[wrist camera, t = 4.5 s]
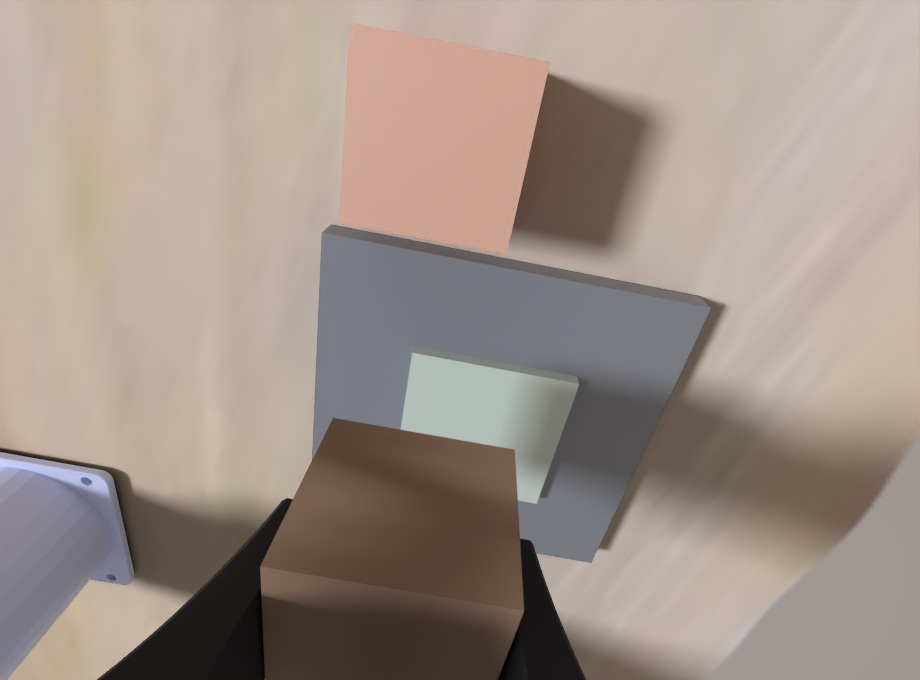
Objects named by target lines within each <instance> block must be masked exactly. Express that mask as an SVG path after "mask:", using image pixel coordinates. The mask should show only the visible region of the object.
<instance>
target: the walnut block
mask: <svg viewBox="0 0 920 680" xmlns="http://www.w3.org/2000/svg"><path fill="white" fill-rule="evenodd" d="M260 574H261V597H262V621H263V644H264V667H265V680H498V678H499V675H500V673H501V670H502V667H503V665H504V662H505V660H506V657H507V654H508V652H509V649H510V646H511V644H512V641H513V639H514V636H515V633H516V631H517V628H518V626H519V623H520V620H521V618H522V615H523V613H524V600H523V582H522V565H521V548H520V530H519V513H518V495H517V478H516V461H515V450H514V449H508V448H502V447H497V446H491V445H485V444H480V443H474V442H468V441H462V440H457V439H451V438H445V437H440V436H434V435H428V434H423V433H417V432H411V431H406V430H400V429H394V428H389V427H383V426H377V425H372V424H366V423H360V422H355V421H349V420H343V419H337V418H333V419H332V421H331V423H330V425H329V427H328V429H327V431H326V433H325V435H324V437H323V439H322V441H321V443H320V446H319V448H318V450H317V452H316V454H315V456H314V458H313V460H312V462H311V464H310V466H309V468H308V470H307V472H306V474H305V476H304V478H303V480H302V482H301V484H300V486H299V488H298V490H297V492H296V494H295V496H294V499H293V501H292V503H291V505H290V507H289V509H288V511H287V513H286V515H285V517H284V519H283V521H282V523H281V525H280V527H279V529H278V531H277V533H276V535H275V537H274V539H273V541H272V543H271V545H270V547H269V550H268V552H267V554H266V556H265V558H264V560H263V562H262V564H261V566H260Z"/></svg>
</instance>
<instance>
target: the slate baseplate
mask: <svg viewBox="0 0 920 680" xmlns="http://www.w3.org/2000/svg"><path fill="white" fill-rule="evenodd" d="M710 310H711V307H710V306H709V305H708V304H707V303H706V302H705V301H704V300H703V299H702V298H701V297H700V296H695V295H690V294H685V293H680V292H675V291H670V290H664V289H659V288H654V287H649V286H644V285H639V284H634V283H628V282H623V281H618V280H613V279H608V278H603V277H597V276H592V275H587V274H582V273H577V272H572V271H567V270H561V269H556V268H551V267H546V266H541V265H536V264H531V263H525V262H520V261H515V260H510V259H505V258H500V257H495V256H489V255H484V254H479V253H474V252H469V251H464V250H458V249H453V248H448V247H443V246H438V245H433V244H428V243H422V242H417V241H412V240H407V239H402V238H397V237H392V236H386V235H381V234H376V233H371V232H366V231H361V230H356V229H350V228H345V227H340V226H335V225H330V226H329V227H328V228H327V229H325V230H324V231H323V232H322V240H321V264H320V287H319V310H318V334H317V357H316V380H315V404H314V427H313V450H312V460H313V458H314V456H315V454H316V452H317V450H318V448H319V446H320V443H321V441H322V439H323V437H324V435H325V433H326V431H327V429H328V427H329V425H330V423H331V421H332V419H333V418H337V419H343V420H349V421H355V422H360V423H366V424H372V425H377V426H383V427H389V428H394V429H400V430H406V431H411V432H417V433H423V434H428V435H434V436H440V437H445V438H451V439H457V440H462V441H468V442H474V443H480V444H485V445H491V446H497V447H502V448H508V449H514V450H515V461H516V478H517V495H518V513H519V530H520V538H521V539H526V540H530V541H531V542H532V543H533V545H534V548H535V552H536V553H538V554H544V555H549V556H555V557H561V558H566V559H572V560H578V561H583V562H589V563H591V562H592V560H593V558H594V556H595V554H596V552H597V550H598V548H599V545H600V543H601V541H602V539H603V537H604V535H605V533H606V531H607V528H608V526H609V524H610V522H611V520H612V518H613V516H614V514H615V511H616V509H617V507H618V505H619V503H620V501H621V499H622V497H623V495H624V492H625V490H626V488H627V486H628V484H629V482H630V480H631V478H632V475H633V473H634V471H635V469H636V467H637V465H638V463H639V461H640V458H641V456H642V454H643V452H644V450H645V448H646V446H647V444H648V441H649V439H650V437H651V435H652V433H653V431H654V429H655V427H656V424H657V422H658V420H659V418H660V416H661V414H662V412H663V410H664V408H665V405H666V403H667V401H668V399H669V397H670V395H671V393H672V391H673V388H674V386H675V384H676V382H677V380H678V378H679V376H680V374H681V371H682V369H683V367H684V365H685V363H686V361H687V359H688V357H689V354H690V352H691V350H692V348H693V346H694V344H695V342H696V340H697V338H698V335H699V333H700V331H701V329H702V327H703V325H704V323H705V321H706V318H707V316H708V314H709V312H710Z"/></svg>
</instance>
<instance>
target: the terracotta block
mask: <svg viewBox="0 0 920 680" xmlns="http://www.w3.org/2000/svg"><path fill="white" fill-rule="evenodd" d="M549 65H550V62H546V61H541V60H536V59H531V58H526V57H521V56H516V55H511V54H506V53H501V52H496V51H491V50H486V49H481V48H476V47H471V46H466V45H460V44H455V43H450V42H445V41H440V40H435V39H430V38H425V37H420V36H415V35H410V34H405V33H400V32H395V31H390V30H385V29H380V28H374V27H369V26H364V25H359V24H354V23H350V33H349V52H348V72H347V91H346V110H345V129H344V148H343V167H342V186H341V206H340V223H341V224H346V225H352V226H357V227H362V228H368V229H373V230H378V231H383V232H389V233H394V234H399V235H405V236H410V237H415V238H421V239H426V240H431V241H437V242H442V243H447V244H453V245H458V246H463V247H469V248H474V249H479V250H485V251H490V252H495V253H500V254H506V255H507V250H508V246H509V242H510V237H511V233H512V228H513V224H514V220H515V215H516V211H517V206H518V202H519V197H520V193H521V189H522V184H523V180H524V175H525V171H526V167H527V162H528V158H529V153H530V149H531V145H532V140H533V136H534V131H535V127H536V123H537V118H538V114H539V109H540V105H541V100H542V96H543V92H544V87H545V83H546V78H547V74H548V70H549Z"/></svg>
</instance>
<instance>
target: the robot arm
mask: <svg viewBox="0 0 920 680" xmlns="http://www.w3.org/2000/svg"><path fill="white" fill-rule="evenodd" d="M292 501H293V499H288V498H287V499H285V500H283V501H282V502H281V503H280V504H279V505H278V507H277V508H276V509H275V510H274V512H273V513H272V514H271V515H270V516H269V517H268V519H267V520H266V521H265V522H264V523H263V524H262V525H261V527H260V528H259V529H258V530H257V531H256V532H255V533H254V534H253V536H252V537H251V538H250V539H249V540H248V541H247V542H246V543H245V544H244V545H243V546H242V548H241V549H240V550H239V551H238V552H237V553H236V554H235V555H234V556H233V557H232V558H231V559H230V560H229V561H228V562H227V563H226V564H225V565H224V566H223V567H222V568H221V569H220V570H219V571H218V572H217V573H216V574H215V575H214V576H213V578H212V579H211V580H209V581H208V582H207V583H206V584H205V585H204V586H203V587H202V588H201V589H200V590H199V591H198V592H197V593H196V594H195V595H194V596H193V597H192V598H191V599H190V600H189V601H187V602H186V603H185V604H184V605H183V606H182V607H181V608H180V609H179V610H178V611H177V612H176V613H175V614H174V615H173V616H172V617H171V618H169V619H168V620H167V621H166V622H165V623H164V624H163V625H162V626H160V627H159V628H158V629H157V630H156V631H155V632H154V633H153V634H151V635H150V636H149V637H148V638H147V639H146V640H145V641H143V642H142V643H141V644H140V645H139V646H138V647H136V648H135V649H134V650H133V651H132V652H130V653H129V654H128V655H127V656H126V657H124V658H123V659H122V660H121V661H120V662H118V663H117V664H116V665H115V666H114V667H112V668H111V669H110V670H109V671H107V672H106V673H105V674H104V675H102V676H101V677H100V678H98V679H97V680H264V679H265V667H264V644H263V621H262V597H261V574H260V566H261V564H262V562H263V560H264V558H265V556H266V554H267V552H268V550H269V547H270V545H271V543H272V541H273V539H274V537H275V535H276V533H277V531H278V529H279V527H280V525H281V523H282V521H283V519H284V517H285V515H286V513H287V511H288V509H289V507H290V505H291V503H292ZM520 548H521V565H522V582H523V600H524V613H523V615H522V618H521V620H520V623H519V626H518V628H517V631H516V633H515V636H514V639H513V641H512V644H511V646H510V649H509V652H508V654H507V657H506V660H505V662H504V665H503V667H502V670H501V673H500V675H499V678H498V680H586V678H585V676H584V674H583V672H582V670H581V668H580V666H579V663H578V661H577V659H576V657H575V654H574V652H573V650H572V648H571V645H570V643H569V640H568V638H567V636H566V633H565V631H564V628H563V626H562V624H561V621H560V619H559V617H558V614H557V611H556V609H555V606H554V604H553V601H552V598H551V596H550V593H549V590H548V588H547V585H546V582H545V579H544V576H543V573H542V570H541V567H540V564H539V561H538V558H537V555H536V552H535V548H534V545H533V543H532V542H531V541H530V540H526V539H521V538H520ZM134 577H135V574H134V569H133V565H132V560H131V556H130V552H129V547H128V543H127V538H126V534H125V529H124V525H123V520H122V516H121V511H120V507H119V502H118V498H117V493H116V489H115V484H114V480H113V477H112V476H111V475H110V474H109V473H108V472H106V471H103V470H99V469H93V468H87V467H82V466H76V465H70V464H65V463H59V462H54V461H48V460H42V459H37V458H31V457H25V456H20V455H14V454H8V453H3V452H0V680H7V679H8V678H9V677H10V676H11V674H12V673H13V672H14V671H15V670H16V668H17V667H18V666H19V665H20V664H21V662H22V661H23V660H24V659H25V657H26V656H27V655H28V654H29V653H30V651H31V650H32V649H33V648H34V647H35V645H36V644H37V643H38V642H39V640H40V639H41V638H42V637H43V636H44V634H45V633H46V632H47V631H48V630H49V628H50V627H51V626H52V625H53V624H54V622H55V621H56V620H57V619H58V617H59V616H60V615H61V614H62V613H63V611H64V610H65V609H66V608H67V607H68V605H69V604H70V603H71V602H72V600H73V599H74V598H75V597H76V596H77V594H78V593H79V592H80V591H81V590H82V588H83V587H84V586H85V585H86V583H87V582H88V581H89V580H90V579H92V580H98V581H104V582H110V583H116V584H122V585H126V584H129V583H130V582H131V581H132V580H133V578H134Z"/></svg>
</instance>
